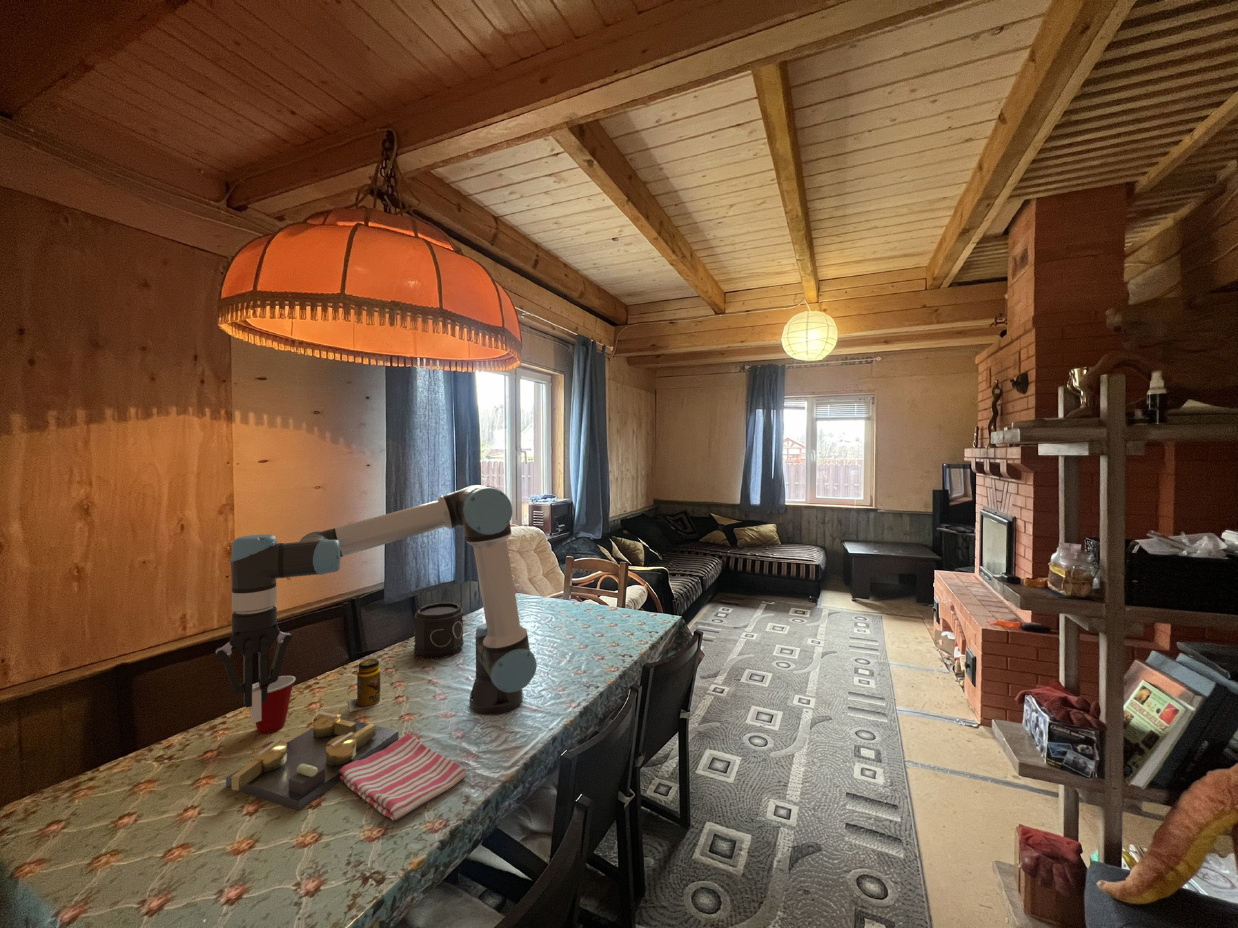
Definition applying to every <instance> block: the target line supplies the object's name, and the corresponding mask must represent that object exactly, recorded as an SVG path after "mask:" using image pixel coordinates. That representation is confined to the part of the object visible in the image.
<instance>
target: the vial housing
mask: <svg viewBox="0 0 1238 928" xmlns="http://www.w3.org/2000/svg"><path fill="white" fill-rule="evenodd" d="M323 780H325V768H323V767H319V766H316V765H312V764H311V765H307V764H300V765H299V766H298V767H297V774H296V775H294V776H293V777H291V778H289V791H292V792H295V793H298V794H301V795H303V794H305V793H306V792H307V791H309V790H310V789H312V788H313V787H315V786H316V785H318V784H319V783H320V782H322V781H323Z"/></svg>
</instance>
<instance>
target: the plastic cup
mask: <svg viewBox="0 0 1238 928" xmlns="http://www.w3.org/2000/svg"><path fill="white" fill-rule="evenodd" d="M296 679H297V678H296V677H295V676H293V675H281V676H280V675H279V677H278V680H277V681H276V682H274V683H271V684H270V685H269V686H268V688H267V701H266V702H264V703H261V719H262V721H259V722H256V723H255V725H256V730H257V733H259V734H262V735H266V734H271V733H275V732H277V731H279V730H281V729H282V728H284V727H285V723H286V720H287V714H288V712H289V706H290V702H291V701H290V700H291V696H292V695H291V694H292V691H293V687H294V683H295V681H296ZM256 686H259V681H258V682H256V683H252V688H253V687H256Z"/></svg>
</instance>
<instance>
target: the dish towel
mask: <svg viewBox="0 0 1238 928" xmlns="http://www.w3.org/2000/svg"><path fill="white" fill-rule="evenodd" d="M339 772H340V773H341V774H342V775H341V776H340V779H341V781H342V782H344V784H345V786H347V787H348V788H349V789H350V790H351V791H353V792H354V793H356V794H358V795H359V797H360V798H362V800H363V801H365V802H367V803H368V804H370V805H372V806H373V807H374V809H375V810H377V811H378V813H380V814H381V815H383V816H384V817H387V818H389V819H391V820H392V821H397V820H399V819H401V818H402V817H405V816H406V815H407V814H410V813H411V812H412V811H414V810H416V809H417V808H420V807H421V806H422V805H424V804H426V803H428V802H429V801H431V800H433V799H434V798H436V797H438V796H440V795H441V794H443V793H445V792H446V791H447V790H450V789H452V787H454V786H455V785H457V784H458V783H459V782H461V781H462V780H463V779H464V780H465V779H466V778H467V775H468V772H467V770H466V769H465V768H464V766H461V765H459V764H458V763H457V762H455V761H454V760H452V759H451V758H449V757H446V756H445V755H441V754H440V753H439V752H437V751H436V750H434V749H431V748H430V747H427V746H425V745H424V744H423V743H422V742H421V741H420V740H419V739H418V738H416V737H414V736H412V733H411V732H407V733H406V734H404V735H402V736H401V738H398V740H396V741H395V742H393V743H392V744H391V745H389V746H388V747H387V748H385V749H384V750H382V751H379V752H377V753H375V754H373V755H371V756H369V757H367V758H365V759H362V760H358V761H355V762H352V763H349V764H347V765H344V766H343V767H342V768H341V769H340V770H339Z"/></svg>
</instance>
